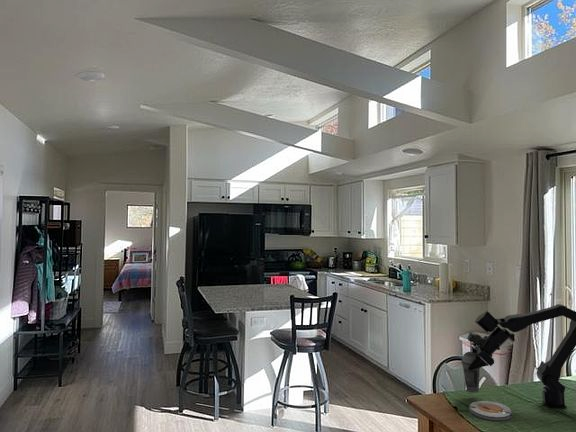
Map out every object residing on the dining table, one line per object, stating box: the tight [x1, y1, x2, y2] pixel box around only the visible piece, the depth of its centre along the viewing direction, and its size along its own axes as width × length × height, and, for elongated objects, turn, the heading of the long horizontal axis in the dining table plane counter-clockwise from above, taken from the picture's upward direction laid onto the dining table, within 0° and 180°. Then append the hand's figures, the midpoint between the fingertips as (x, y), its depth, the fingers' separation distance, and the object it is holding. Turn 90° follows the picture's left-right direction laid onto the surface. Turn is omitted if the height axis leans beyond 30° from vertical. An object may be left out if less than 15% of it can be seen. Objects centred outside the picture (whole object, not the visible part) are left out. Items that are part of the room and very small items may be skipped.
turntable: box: [469, 400, 512, 418], centre depth 159 cm, size 14×14×1 cm
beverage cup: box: [461, 341, 481, 394], centre depth 173 cm, size 7×7×20 cm
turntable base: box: [468, 405, 514, 422], centre depth 159 cm, size 15×15×1 cm
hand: (467, 366), depth 174 cm, fingers closed on beverage cup, 7 cm apart
